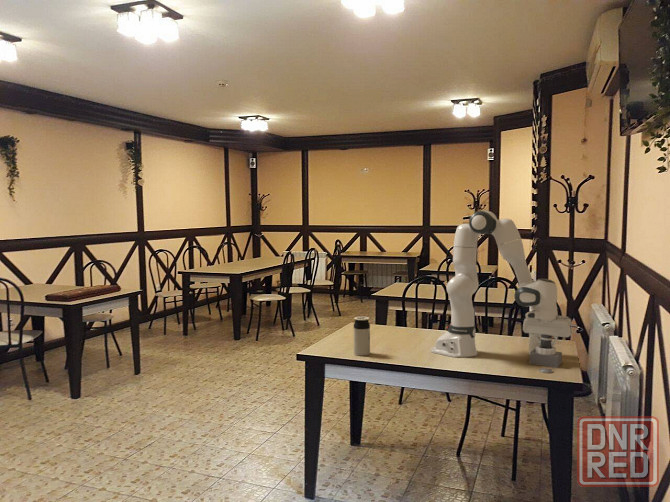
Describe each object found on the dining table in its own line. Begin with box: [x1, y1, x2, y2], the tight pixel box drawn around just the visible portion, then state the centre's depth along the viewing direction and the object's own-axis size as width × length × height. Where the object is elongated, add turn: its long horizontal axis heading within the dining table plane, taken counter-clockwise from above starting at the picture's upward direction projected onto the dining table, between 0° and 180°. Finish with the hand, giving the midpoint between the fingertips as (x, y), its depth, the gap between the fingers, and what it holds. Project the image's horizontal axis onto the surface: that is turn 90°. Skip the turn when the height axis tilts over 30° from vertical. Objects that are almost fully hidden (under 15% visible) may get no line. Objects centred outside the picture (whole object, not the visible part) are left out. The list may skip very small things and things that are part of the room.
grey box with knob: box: [529, 345, 563, 369], centre depth 233 cm, size 12×9×8 cm
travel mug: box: [353, 316, 371, 357], centre depth 252 cm, size 8×8×18 cm
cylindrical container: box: [528, 305, 541, 356], centre depth 247 cm, size 7×7×25 cm
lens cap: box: [539, 367, 553, 374], centre depth 221 cm, size 5×5×1 cm
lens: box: [541, 335, 553, 349], centre depth 233 cm, size 4×4×7 cm
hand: (546, 344), depth 233 cm, fingers closed on lens, 4 cm apart
